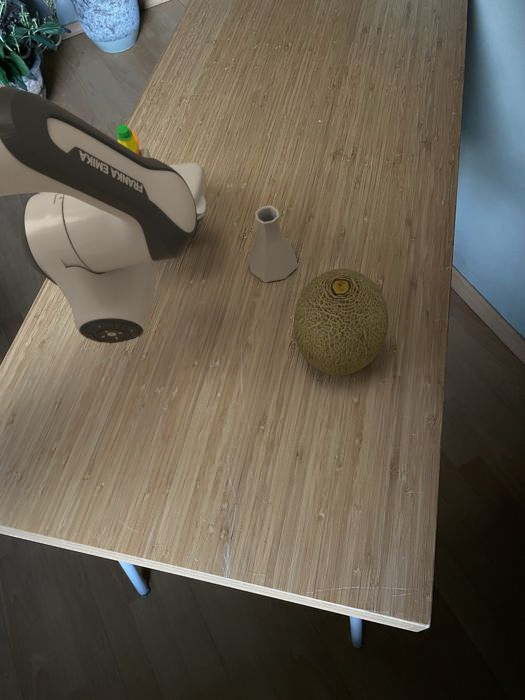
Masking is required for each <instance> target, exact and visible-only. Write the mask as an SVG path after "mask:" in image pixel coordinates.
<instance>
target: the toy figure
mask: <svg viewBox="0 0 525 700" xmlns="http://www.w3.org/2000/svg"><path fill="white" fill-rule="evenodd" d="M115 131H116V135H115V137H116V139H117V140H116V141H117V142H119V143H120V144H122V145H124V146H125V147H127V148H128V149H130V150H132V151H133V152H135V153H137V154H138V155H139V153H138V152H139V150H140V146H139V140H138V136H137V134H136V133H135V131H134V130H132V129H130V128H129V126H128V125H127V124H120V125H118V126H117V127H116V129H115Z"/></svg>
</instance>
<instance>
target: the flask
mask: <svg viewBox="0 0 525 700" xmlns="http://www.w3.org/2000/svg"><path fill="white" fill-rule="evenodd" d="M254 215H255V219H256V222H257V223H258V224H257V225H258V226H257V232H256V235H255V238H254V241H253V243H252V245H251V248H250V250H249V253H248V255H247V260H248V267H249V271H250V273H251V274H252V275H254V276H255V277H257V278H258V279H259V280H260V281H262V282H263V283H268V282H269V283H270V282H276V281H279V280H285V279H286V278H287V277H289V276H290V275H291V274H292V273H293V272H295V271H296V269H298V268H299V264H298V260H297V255H296V251H295V250H294V248H293V247H292V245H291V244H290V242H289V241H288V240H287V238H286V236H285V235H284V233H283V231H282V229H281V228H280V225H279V221H280V219H281V215H280V211H279V209H278V208H277V207H275V206H274V205H272V204H268V205H264V206H261V207H259V208H258V209H257V210H256V211H254Z"/></svg>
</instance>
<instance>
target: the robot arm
mask: <svg viewBox="0 0 525 700" xmlns="http://www.w3.org/2000/svg"><path fill="white" fill-rule="evenodd" d="M138 153H139V155H138V154H137V153H135V152H133V151H132V150H130V149H128V148H127V147H125V146H124V145H122V144H120V143H119V142H118V140H116V139H114V138H112V137H111V136H109V135H108V134H106V133H104V132H103V131H101V130H100V129H99V128H97V127H95V126H93V125H91V124H90V123H88V122H87V121H85V120H84V119H82V118H81V117H79V116H78V115H75V114H74V113H72V112H70V111H69V110H67V109H65V108H64V107H62V106H60V105H59V104H57V103H55V102H53V101H51V100H49V99H47V98H45V97H44V96H41V95H39V94H37V93H34V92H31V91H28V90H24V89H21V88H18V87H14V86H11V85H10V86H9V85H5V84H2V83H0V197H6V196H12V195H13V196H14V195H21V194H31V193H34V194H33V195H31V196H29V197H28V199H27V200H26V201H25V204H24V206H23V207H22V210H21V214H20V218H19V233H18V234H19V243H20V249H21V251H22V254H23V256H24V258H25V260H26V261H27V262H28V264H30V266H31V267H32V268H33V269H34V270H35V271H37V272H38V273H39V274H40V275H42V276H43V277H45V279H47V280H49V281H50V282H51V283H53V285H55V286H57V287H58V288H59V290H60V291H61V292H62V294H63V295H64V296H65V298H66V300H67V301H68V304H69V306H70V308H71V311H72V315H73V319H74V324H75V328H76V329H77V332H78V333H79V334H80V335H81V336H82V337H84V338H85V339H88V340H90V341H93V342H96V343H101V344H117V343H123V342H128V341H132V340H135V339H137V338H140V337H141V336H142V335H143V334H144V333H145V332H146V330H147V328H148V326H149V323H150V320H151V317H152V313H153V308H154V303H155V298H156V297H155V296H156V287H157V271H156V268H155V264H156V262H158V261H159V262H160V261H165V260H171V259H178V258H179V257H180V256H181V255H182V253H184V251H185V249H186V248H187V247H188V245H190V242H191V240H192V239H193V237H194V235H195V233H196V230H197V227H198V223H197V220H201V219H203V218H205V217H206V215H207V213H208V202H207V201H208V200H207V199H206V196H207V188H208V187H207V186H208V183H207V177H206V173H205V168H204V167H203V166H202V165H201V164H199V162H183V163H173V164H167V163H165V162H163V161H161V160H159V159H157V158H155V157H151V154H150V150H149V148H142V149H139V152H138ZM36 193H37V194H36Z"/></svg>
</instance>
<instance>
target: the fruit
mask: <svg viewBox="0 0 525 700" xmlns="http://www.w3.org/2000/svg"><path fill="white" fill-rule="evenodd" d="M299 295H300V296H299V297H298V299H297V302H296V306H295V311H294V317H293V333H294V340H295V341H296V344H297V347H298V349H299V352H300V353H301V354H302V356H303V358H304V359H305V360H306V361H307V362H308V364H309V365H310V366H311V367H313V368H314V369H316V370H318V371H320V372H322V373H324V374H326V375H331V376H335V377H341V376H342V377H344V376H348V375H351V374H354V373H356V372H358V371H360V370H361V369H364V368H365V367H366V366H368V365H369V364H370V363H371V362H372V361H373V360H375V359H376V357H378V355H379V354H380V352H381V351H382V349H383V346H384V344H385V340H386V337H387V334H388V328H389V324H390V323H389V310H388V307H387V303H386V300H385V297H384V295H383V292H382V290H381V289H380V288H379V286H378V285H377V283H376V282H374V280H372V279H371V278H370V277H369V276H368V275H366V274H364V273H362V272H361V271H358V270H354V269H350V268H335V269H331V270H328V271H325V272H323V273H321V274H319V275H317V276H315V277H314V278H312V279H311V281H310V282H309V283H308V284H307V285H305V287H304V289H303V290H302V292H301V293H300V294H299Z"/></svg>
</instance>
